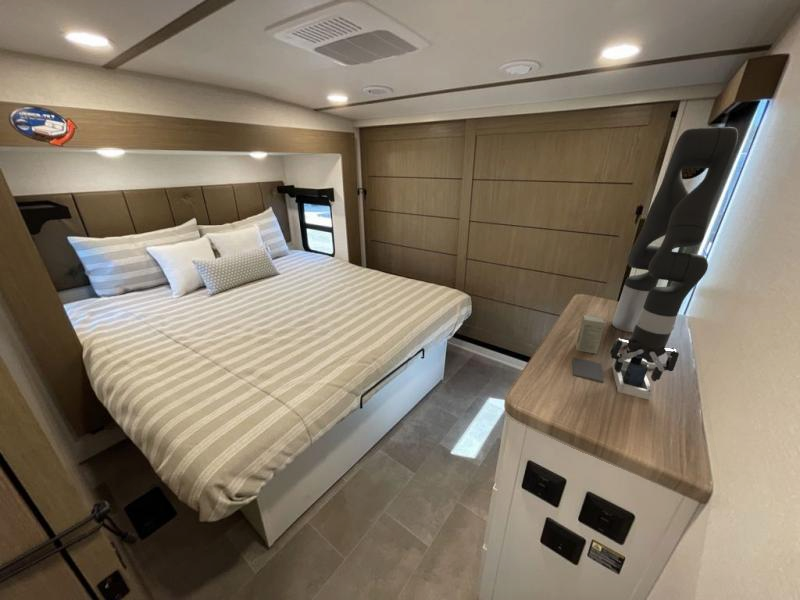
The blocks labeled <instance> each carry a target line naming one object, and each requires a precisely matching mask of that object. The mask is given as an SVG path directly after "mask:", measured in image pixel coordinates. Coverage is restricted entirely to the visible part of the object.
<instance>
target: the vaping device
mask: <svg viewBox="0 0 800 600" xmlns="http://www.w3.org/2000/svg"><path fill="white" fill-rule="evenodd" d="M642 359H643V356H640V354H639V355H636V356H634V357H633V358H631V360H630V363H629V365H628V367H627V370H626V373H625V376H624V377H622V378H623V382H624V384H627V385H631V386H635V387H640V388H641V385H642V383H643V380H644V378H645V375H647V372H648V370H649V369H648V366H647V365H648V363H647V362H645V361H642Z"/></svg>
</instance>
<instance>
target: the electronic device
mask: <svg viewBox="0 0 800 600" xmlns="http://www.w3.org/2000/svg"><path fill="white" fill-rule="evenodd" d="M630 339H631V337H623V338H622V340H626V341H628V340H630ZM623 348H625V349H627V348H628V346H627V345H625V346H624V347H623ZM630 353H631V352H630ZM646 361H647V363H648V370H649V369H650V370H654V368H655V366H656V364H655V363H654V361H653V360H649V361H648V360H646ZM656 367H657V366H656Z"/></svg>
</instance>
